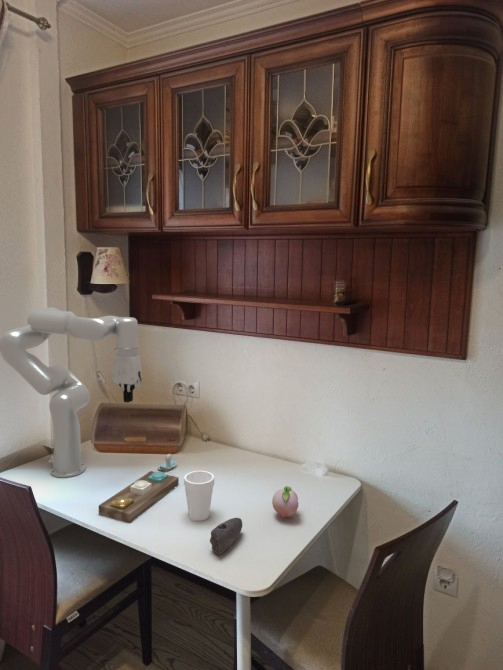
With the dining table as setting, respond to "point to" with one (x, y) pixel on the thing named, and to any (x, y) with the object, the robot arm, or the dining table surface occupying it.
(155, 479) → the teal button
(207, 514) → the foam cup
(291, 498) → the decorative fruit
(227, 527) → the perforated stone tool
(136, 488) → the cream button
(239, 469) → the dining table surface
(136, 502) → the button panel
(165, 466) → the pacifier
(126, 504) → the brass button
